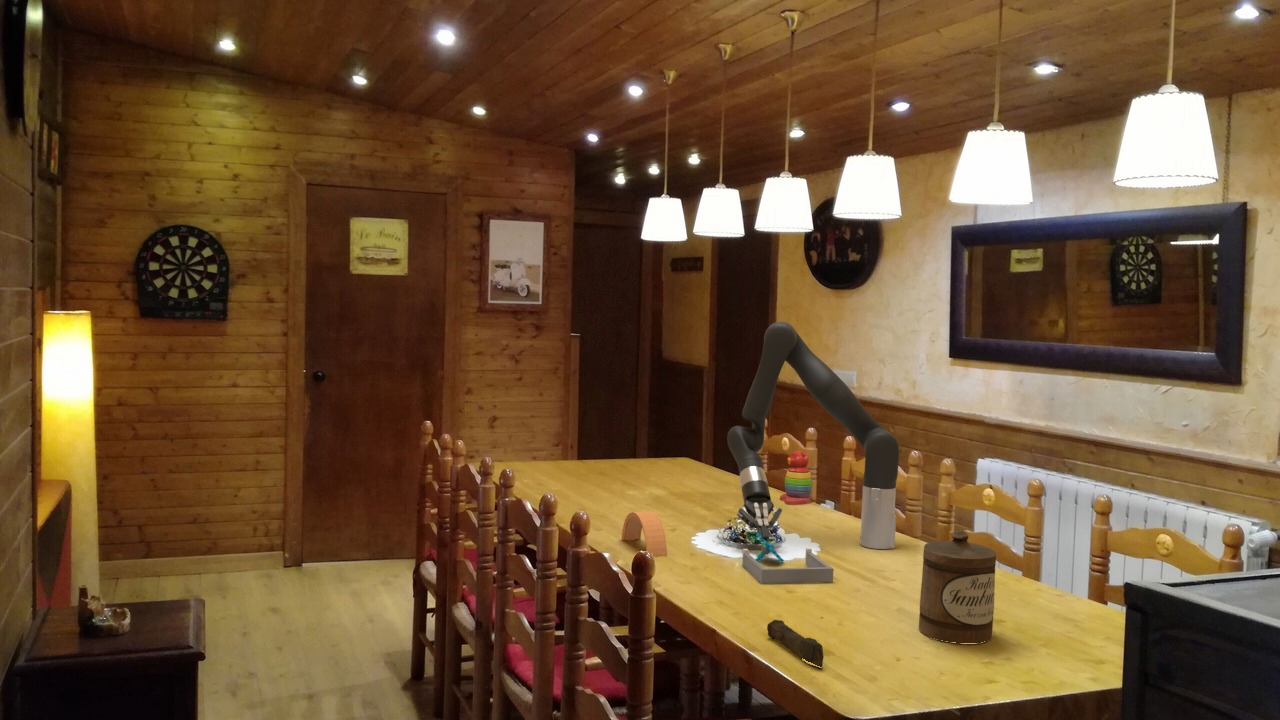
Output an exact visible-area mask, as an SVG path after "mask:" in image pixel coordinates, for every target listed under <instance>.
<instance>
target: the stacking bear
mask: <svg viewBox="0 0 1280 720" xmlns="http://www.w3.org/2000/svg"><path fill="white" fill-rule="evenodd" d="M786 460H787V461H786V462H787V464H788V466H789V467H788V468H787V470H786V471H787V472H786V473H785V477H784V488H785V493H783V494H780V496H779V500H780V501H784V504H786V505H791V506H792V505H793V506H794V505H795V506H796V505H800V506H801V505H808V504H810V503H811V502H812V500H811V497H810V496H811V492H812V489H813V488H812V487H813V480H812V473H811V471H810V469H809V468H808V467H807V466H808V465H809V461H810V460H809V455H808V453H806V452H805V451H802V450H798V449H796V450H795V451H793V452H791V454H790V455H789V456H788V457H787V459H786Z"/></svg>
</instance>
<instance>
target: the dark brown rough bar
mask: <svg viewBox="0 0 1280 720" xmlns="http://www.w3.org/2000/svg"><path fill="white" fill-rule="evenodd" d="M766 629H767V635H768V637H769V636H770V637H772V638H771V639H772V640H773V639H775V640H777V641H778V642H780V643H781V644H782V645H784V646H785V647H786V648H788V649H789V648H790V651H792V650H793V652H794V653H796V654H797V656H799V655H800V656H799V657H800V658H801V657H802V658H803V659H805V660H806V661H808V662H811V663H813V664H815V665H817V666H820V667H822V668H823V663H824V662H823V661H824V659H825V658H824V650H823V645H822V644H821V643H820V642H818V640H816V639H815V638H812V637H804V636H803V635H801V634H799V633H798V632H797V631H795V630H793V629H792V628H791V627H789V626H788V625H787V624H785V621H784V620H781V619H780V620H779V619H773V620H772V621H770V622H769V623H768V624H767V627H766ZM770 637H769V638H770Z"/></svg>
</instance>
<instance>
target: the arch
mask: <svg viewBox="0 0 1280 720" xmlns="http://www.w3.org/2000/svg"><path fill="white" fill-rule="evenodd" d="M642 532H643V534H644V540H645V549H646V551H648V552H650V553H652V554H653V556H654V557H653V558H659V557H658V556H664V557H668V555H667V554H668V553H667V550H668V549H667V548H668V547H667V540H666V533H665V529H664V526H663V523H662V521H661V519H660V517H659V516H658V514H657V513H656V512H654V511H651V510H650V511H634V512H633V511H632V512H629V513H628V514H627V516H626V517H625V519H624V522H623V526H622V531H621V541H623V540H628V541H636V540H635V539H642ZM646 551H645V552H646ZM655 556H656V557H655Z"/></svg>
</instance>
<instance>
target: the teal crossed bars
mask: <svg viewBox="0 0 1280 720" xmlns="http://www.w3.org/2000/svg"><path fill="white" fill-rule="evenodd" d="M755 536H756V537H757V538H758V539H759V540H760V541H761V542H762V544H763V545H762V547H761V548H760V549H761V550H760V551H759V552H758V553H757V554H756V555H755V556H756V558H754V559H755V560H756V561H758V562H760V561H761V560H762V559H763V558H764V557H765V556H767V555H769V554H770V553H772V554H773V555H774V556H775V557H776V558H777V560H779V561H780V562H781V563H783V562H784V561H785V560H784V559H783V558H782V557H781V555H779V554H778V552H777V551H775V546H774V545H773V544H772V543H771V544H770V543H768V541H765V540H764V539H763V538H762V537H761V536H760V535H759V533H758V532H757V534H755Z"/></svg>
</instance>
